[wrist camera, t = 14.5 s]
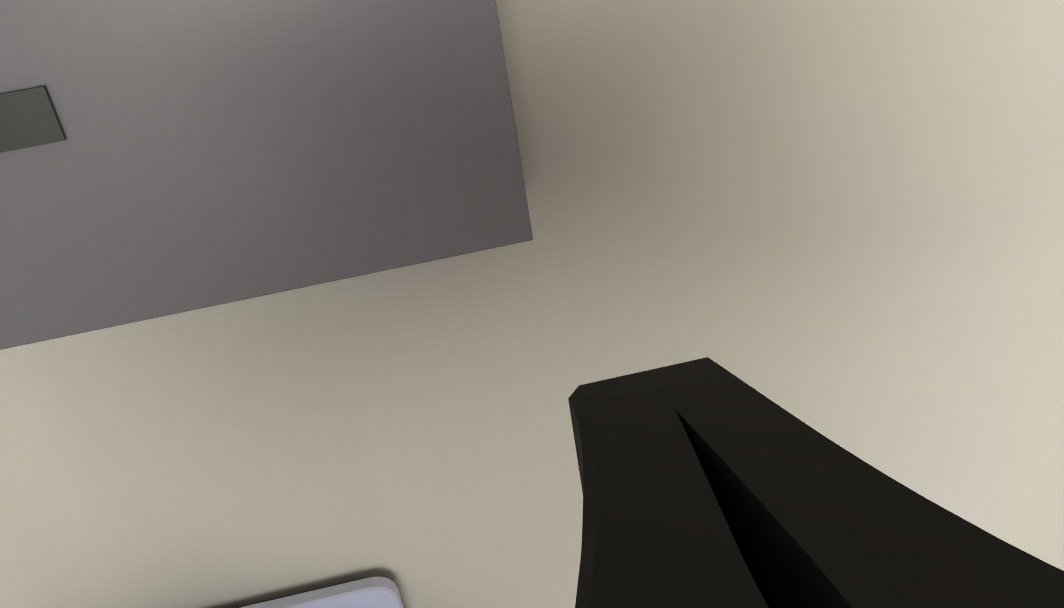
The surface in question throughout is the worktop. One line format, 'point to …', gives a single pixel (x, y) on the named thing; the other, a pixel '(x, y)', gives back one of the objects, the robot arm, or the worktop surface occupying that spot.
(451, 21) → the console
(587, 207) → the worktop surface
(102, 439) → the worktop surface
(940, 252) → the worktop surface
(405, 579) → the worktop surface
